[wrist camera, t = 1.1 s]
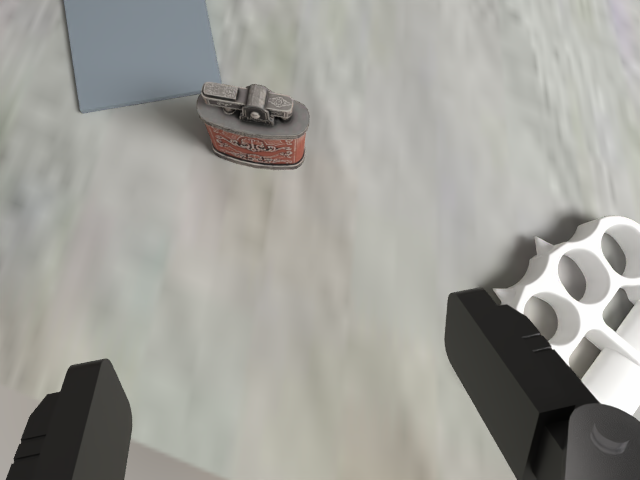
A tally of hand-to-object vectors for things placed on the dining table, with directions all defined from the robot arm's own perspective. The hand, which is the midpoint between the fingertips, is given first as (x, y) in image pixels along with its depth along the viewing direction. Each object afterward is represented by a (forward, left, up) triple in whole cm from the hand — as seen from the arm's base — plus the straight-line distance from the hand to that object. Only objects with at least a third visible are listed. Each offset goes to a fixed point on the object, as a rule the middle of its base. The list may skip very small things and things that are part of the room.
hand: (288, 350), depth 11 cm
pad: (+7, -28, -28) cm, 40 cm away
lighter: (-1, -16, -28) cm, 32 cm away
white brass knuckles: (-24, +4, -28) cm, 37 cm away
